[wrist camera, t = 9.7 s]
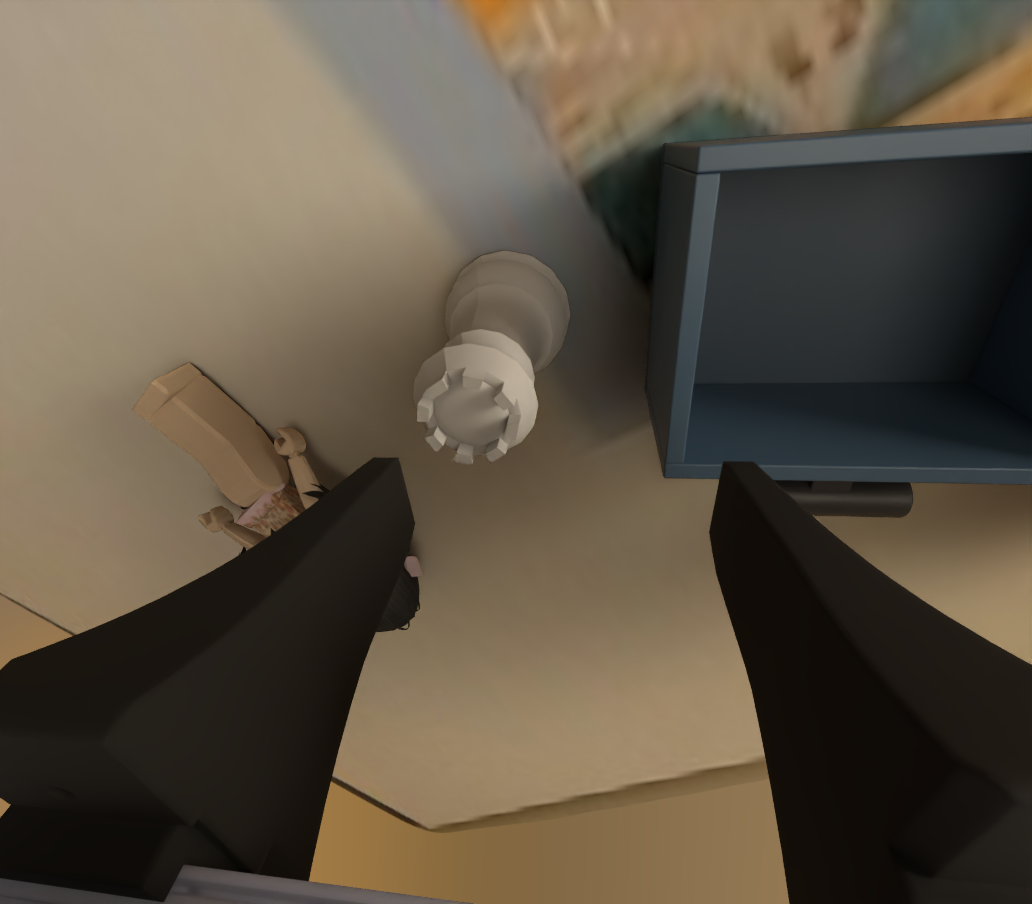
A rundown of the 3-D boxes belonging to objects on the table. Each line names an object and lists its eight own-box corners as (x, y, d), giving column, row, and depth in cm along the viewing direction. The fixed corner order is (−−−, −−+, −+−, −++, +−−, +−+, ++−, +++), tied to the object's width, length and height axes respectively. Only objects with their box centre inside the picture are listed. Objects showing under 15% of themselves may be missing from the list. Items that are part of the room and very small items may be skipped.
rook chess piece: (429, 277, 18) (340, 375, 12) (541, 224, 17) (511, 303, 10) (484, 380, 21) (435, 511, 14) (588, 341, 19) (587, 467, 13)
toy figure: (145, 435, 25) (379, 608, 29) (28, 508, 19) (339, 707, 24) (218, 338, 22) (463, 544, 27) (107, 390, 17) (439, 638, 21)
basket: (1086, 112, 14) (1381, 97, 8) (936, 457, 19) (1060, 572, 14) (662, 143, 15) (698, 145, 10) (639, 454, 21) (655, 556, 16)
